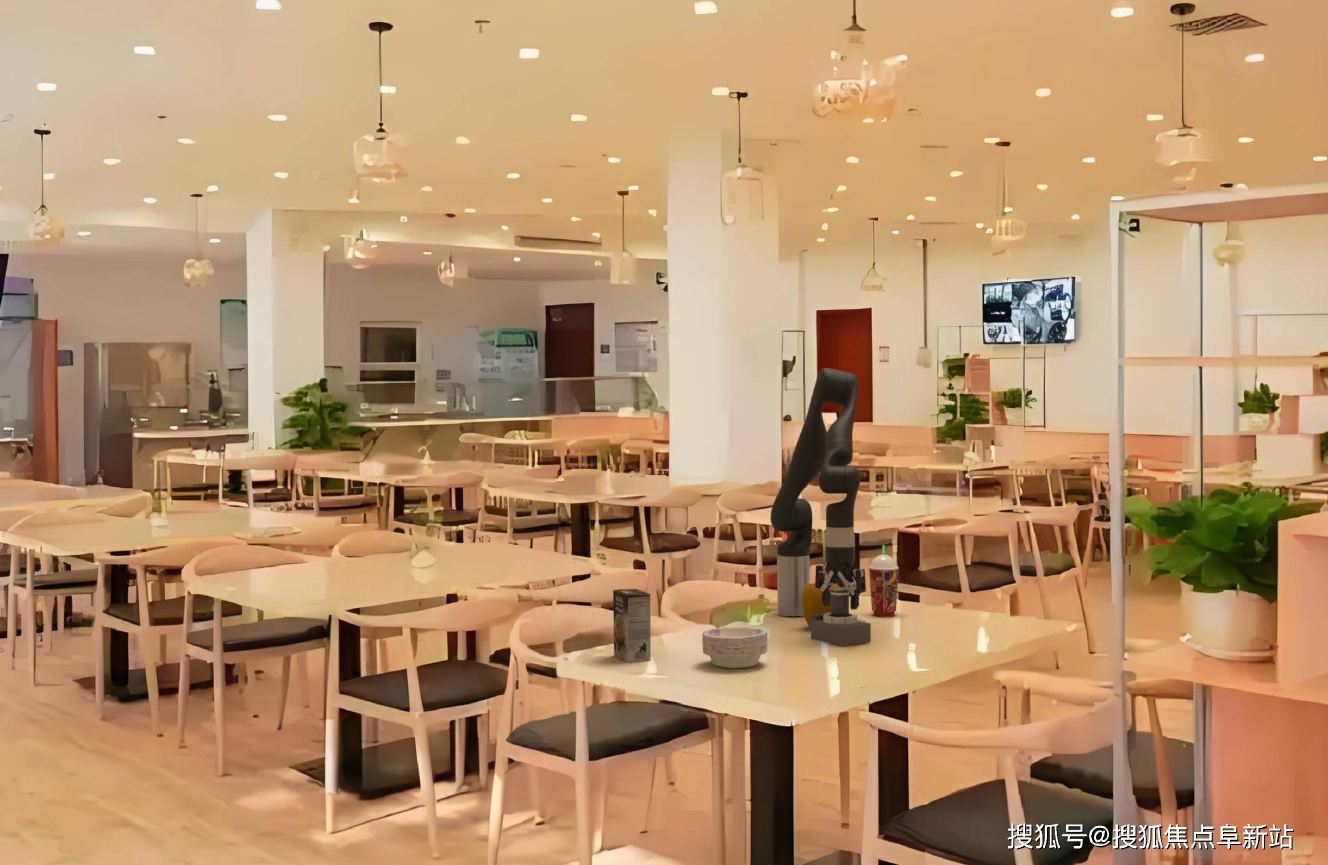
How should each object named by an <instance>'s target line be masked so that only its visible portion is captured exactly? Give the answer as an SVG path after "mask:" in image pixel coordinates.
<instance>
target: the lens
mask: <svg viewBox="0 0 1328 865" xmlns="http://www.w3.org/2000/svg"><path fill="white" fill-rule="evenodd" d="M849 613H850V591H849V590H848V588H846V587H840V588H833V589H832V590H831V616H833V617H849Z"/></svg>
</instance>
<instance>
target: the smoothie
mask: <svg viewBox="0 0 1328 865" xmlns="http://www.w3.org/2000/svg"><path fill="white" fill-rule="evenodd" d="M885 546H886V545H885V544H882V554H879V555H877V556H876V557H874V558H873V559H872V561H871V563H870V565H869V566H868V572H869V573H868V574H869V584H870V585H869V586H870V588H869V589H870V590H869V591H870V601H871V602H870V603H871V611H872V613H873V615H874V616H875V615H876V617H880V616H890V617H893V616H895V612H896V611H897V602H898V600H897V599H898V584H899V569H900V567H899V566H898V564H897V562H896V560H895V559H894V557H892V556H890V555H887V554H886V547H885Z"/></svg>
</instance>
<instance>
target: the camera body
mask: <svg viewBox="0 0 1328 865" xmlns="http://www.w3.org/2000/svg"><path fill="white" fill-rule="evenodd" d="M858 615H859V614H857V613H854V612H853V613H852V612H849V617H833V616H831V612H829V613H820V614H812V615H811V628H810V639H812V640H815V641H818V640H819V641H820V642H822V641H823V643H826V642H828V643H827V644H830V645H835V646H838V647H842V648H843V647H844V646H845V647H852V646H859V645H858V644H860V645H864V644H865V643H867V644H870V643H869V642H872V640H871V639H872V637H871V633H872V630H871V626H872V624H871V622H867V621H866V619H864V618H859V619H858ZM819 641H818V642H819Z"/></svg>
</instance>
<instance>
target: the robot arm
mask: <svg viewBox="0 0 1328 865" xmlns="http://www.w3.org/2000/svg"><path fill="white" fill-rule="evenodd" d="M858 394H859V381H858V377H857V375H855V374H854V373H852V372H847V371H843V370H838V369H834V368H830V367H829V368H828V367H824V368H822V369H821V370H820V371H819V373H818V375H817V377H816V380H815V383H814V388H813V390H812V395H811V398H810V402H809V405H808V410H807V413H806V417H805V420H804V422H803V425H802V428H801V431H800V434H799V436H798V438H797V441H796V444H795V446H794V451H793V453H792V457H791V461H790V463H789V466H788V469H787V472H786V474H785V477H784V480H783V482H782V484H781V486H780V489H779V491H778V492H777V495H776V497H775V500H774V501H773V504H772V506H771V511H770V523H771V526H772V528H773V529H774V530H775V531H777V532H784V533H786V532H790V534H789V537H788V538H786V539H785V540H784V541H782V542H780V543H778V545H777V546H776V569H777V570H776V571H777V575H776V577H777V578H776V579H777V580H776V583H777V584H776V586H777V587H776V588H777V590H776V591H777V595H776V596H777V599H776V600H777V602H776V603H777V606H776V607H777V612H776V613H777V615H778V616H780V615H781V616H780V617H787V616H802V617H805V616H804V612H803V607H802V592H803V589H804V587H805V586H806V585H808V584H811V582H810V576H811V575H810V574H811V572H810V570H811V569H810V548H811V547H812V546H811V545H812V538H813V518H814V517H813V510H812V505H811V504H810V501H808V500H807V499H805V498H801V497H800V495H802V493H803V491H804V490H805V488H807V486H808V485H810V483H812V482H813V481H814V479H815V478H817V476H818V482H817V483H818V486H819V490H820V491H822V493H825V494H828V495H829V494H830V495H835V494H836V495H845V494H846V496H845V498H844V499H842V500H841V501H838V502H833V503H829V504H828V505H827V506H826V507H825V534H824V553H825V554H824V560H825V563H826V565H825V564H818V565H816V566H815V579H814V580H815V581H814V583H815V587H816V588H819V589H820V590H821V591H822V603H823V605H824V606H830V604H831V591H829V590H830V588H831V587H832V585H833V584H837V585H838V584H839V586H840V585H843V586H844V588H847V589H848V590H849V609H850V610H853V611H854V610H858V608H859V607H860V594H863V593H866V592H867V584H866V581H867V580H866V570H865V568H859V569H858V568H855V566H854V564H855V562H856V537H855V536H856V535H855V529H854V528H855V523H854V521H855V518H854V515H855V512H854V510H855V504H856V498H857V495H858V492H859V489H860V485H861V481H862V480H861V476H862V475H861V472H860V470H859V469H858V468H857V467H856V466H853V465H852V466H850V464H851V463H852V461H853V456H854V455H853V454H854V453H853V451H854V449H853V447H854V446H853V445H854V444H853V432H854V424H855V416H856V412H857V411H856V409H857V404H858V403H857V402H858ZM825 403H827V404H832V405H837V406H842V411H841V412H840V415H839V416H838V417H837V418H836V420H834V422H833V423H832V424H831V425H830V426H829V428H828V429H827V428H826V426H825V422H824V421H825V420H824V417H823V407H824V404H825ZM848 465H849V466H848ZM799 497H800V498H799ZM826 575H827V576H826ZM854 577H855V578H854Z"/></svg>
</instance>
